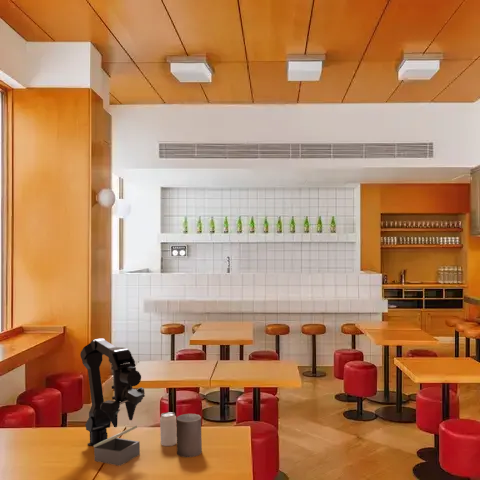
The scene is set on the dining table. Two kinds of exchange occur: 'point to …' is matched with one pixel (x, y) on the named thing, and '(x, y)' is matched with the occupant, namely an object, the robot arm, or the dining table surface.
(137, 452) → the storage box
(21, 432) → the dining table surface
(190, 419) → the pillar candle
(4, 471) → the dining table surface
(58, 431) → the dining table surface
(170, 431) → the can
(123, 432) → the lid
